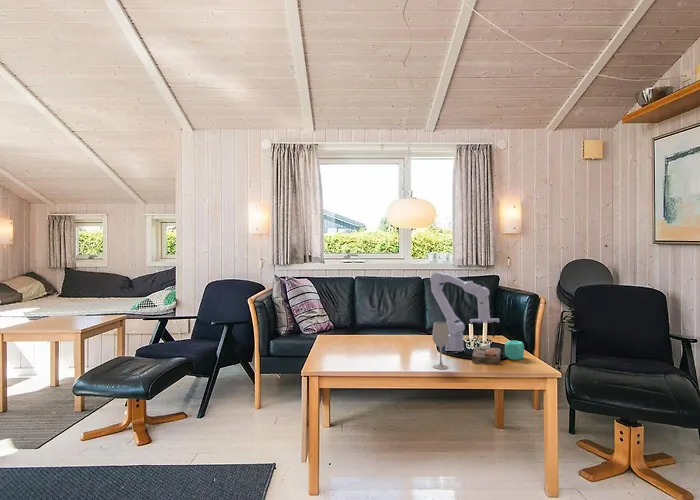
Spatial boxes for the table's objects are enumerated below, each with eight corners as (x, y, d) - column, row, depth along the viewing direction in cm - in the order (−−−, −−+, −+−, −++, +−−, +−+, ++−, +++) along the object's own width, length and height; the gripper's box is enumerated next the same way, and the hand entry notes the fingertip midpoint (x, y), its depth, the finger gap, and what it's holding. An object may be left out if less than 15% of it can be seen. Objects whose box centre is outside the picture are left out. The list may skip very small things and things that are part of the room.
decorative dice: (524, 357, 228) (524, 341, 228) (521, 360, 222) (521, 344, 221) (507, 355, 233) (507, 339, 232) (504, 358, 226) (504, 342, 226)
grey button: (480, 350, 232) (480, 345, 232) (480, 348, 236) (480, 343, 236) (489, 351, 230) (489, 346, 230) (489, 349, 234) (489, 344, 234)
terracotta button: (485, 356, 220) (485, 350, 220) (486, 354, 224) (486, 348, 224) (495, 357, 219) (495, 351, 219) (495, 354, 223) (495, 349, 223)
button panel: (472, 362, 219) (472, 356, 219) (474, 352, 239) (474, 346, 239) (500, 364, 215) (500, 358, 215) (500, 354, 235) (500, 348, 235)
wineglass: (443, 364, 217) (442, 320, 216) (452, 368, 210) (451, 323, 209) (429, 366, 214) (429, 322, 214) (438, 370, 207) (437, 324, 206)
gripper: (469, 312, 231) (471, 338, 231) (498, 310, 227) (500, 337, 227) (469, 310, 238) (471, 336, 238) (498, 309, 234) (500, 335, 234)
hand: (485, 336), depth 233 cm, fingers open, 7 cm apart
